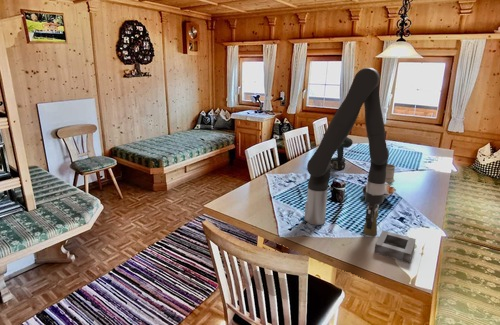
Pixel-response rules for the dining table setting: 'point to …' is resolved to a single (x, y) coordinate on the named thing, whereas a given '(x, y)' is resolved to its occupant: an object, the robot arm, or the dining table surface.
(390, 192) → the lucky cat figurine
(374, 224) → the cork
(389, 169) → the mug
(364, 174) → the dining table surface
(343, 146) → the power drill
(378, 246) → the square holder
